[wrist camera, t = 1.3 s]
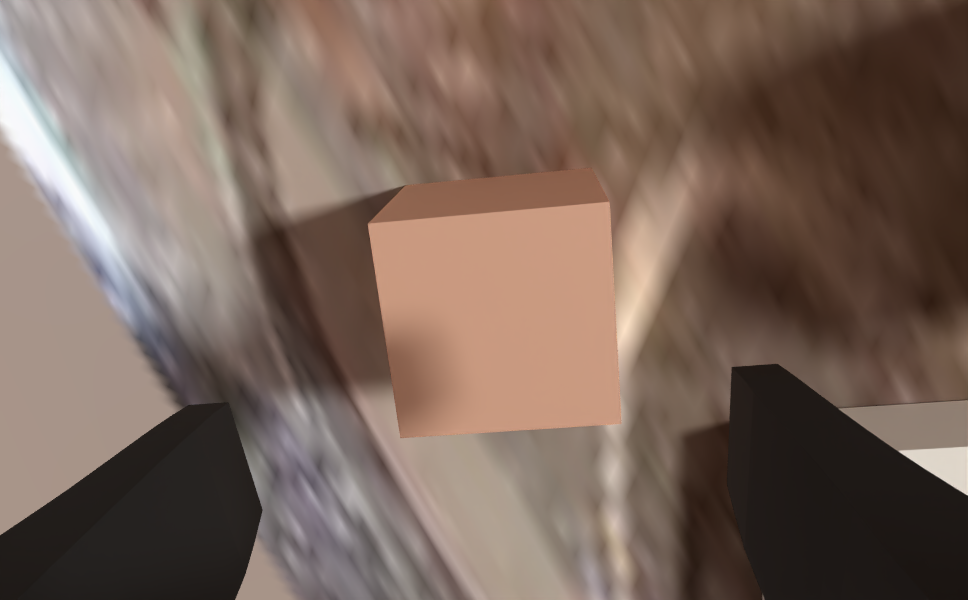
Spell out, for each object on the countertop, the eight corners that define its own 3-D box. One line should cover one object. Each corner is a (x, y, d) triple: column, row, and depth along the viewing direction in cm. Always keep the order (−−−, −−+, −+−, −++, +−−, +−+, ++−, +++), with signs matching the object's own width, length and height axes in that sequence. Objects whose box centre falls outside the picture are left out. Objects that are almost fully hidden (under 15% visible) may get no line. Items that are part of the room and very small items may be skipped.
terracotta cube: (601, 342, 21) (621, 423, 17) (429, 355, 22) (400, 437, 17) (591, 167, 20) (609, 201, 15) (405, 184, 20) (367, 223, 16)
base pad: (1085, 677, 24) (1146, 746, 21) (761, 688, 25) (785, 755, 22) (1134, 389, 21) (1213, 431, 18) (763, 412, 22) (792, 456, 19)
